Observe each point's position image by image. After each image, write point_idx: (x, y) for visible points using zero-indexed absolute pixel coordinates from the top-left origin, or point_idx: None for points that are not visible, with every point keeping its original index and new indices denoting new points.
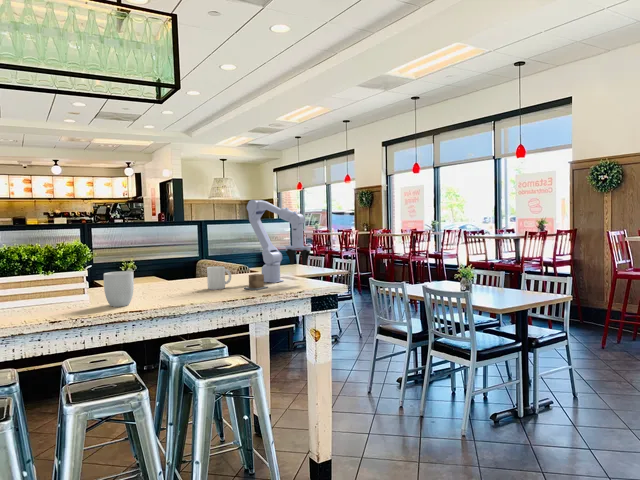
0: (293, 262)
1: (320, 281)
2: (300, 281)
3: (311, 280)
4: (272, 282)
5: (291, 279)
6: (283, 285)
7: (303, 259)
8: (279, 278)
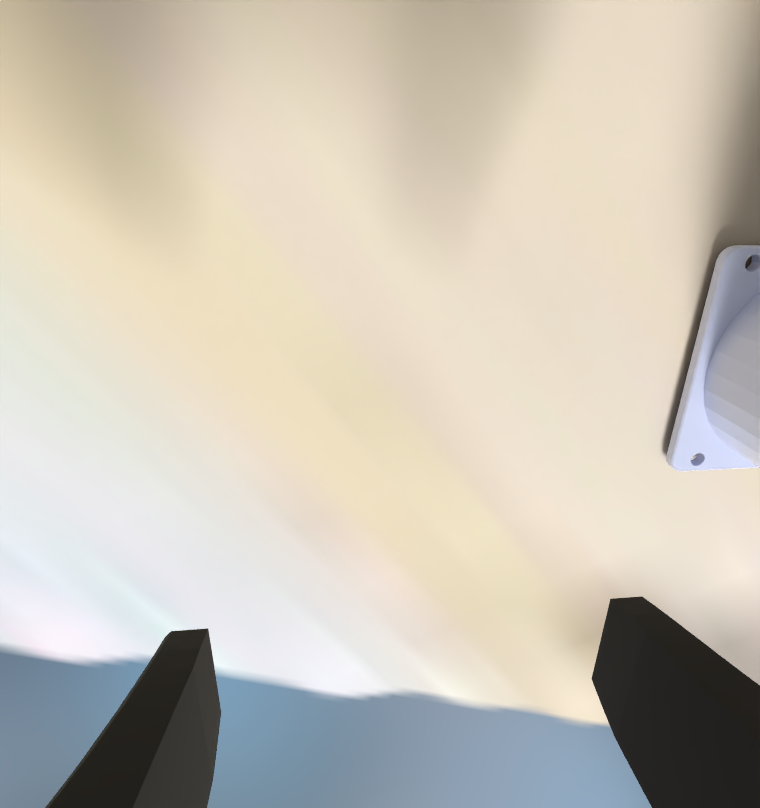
0: (617, 701)
1: None
2: (440, 545)
3: (364, 658)
4: (758, 245)
5: None
6: (435, 89)
7: (58, 796)
8: (728, 402)
